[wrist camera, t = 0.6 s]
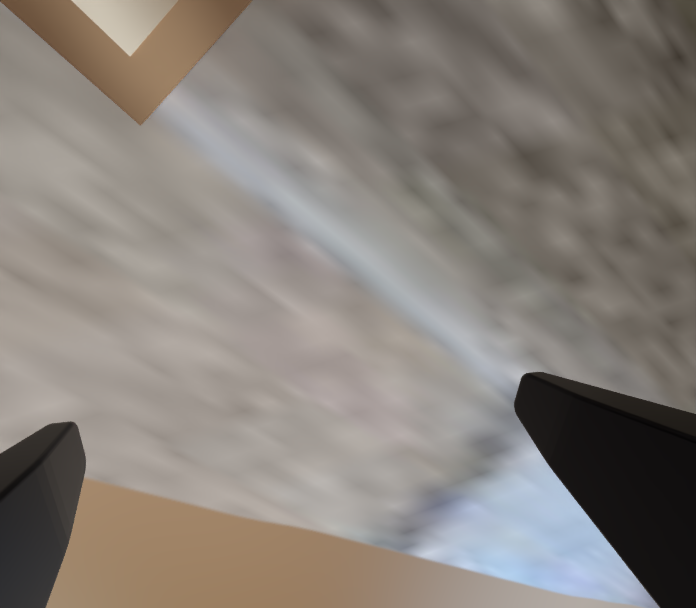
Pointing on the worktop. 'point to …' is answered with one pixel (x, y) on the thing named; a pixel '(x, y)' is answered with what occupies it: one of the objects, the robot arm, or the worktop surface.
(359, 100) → the worktop surface
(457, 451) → the worktop surface
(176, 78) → the wooden picture frame
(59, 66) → the worktop surface
